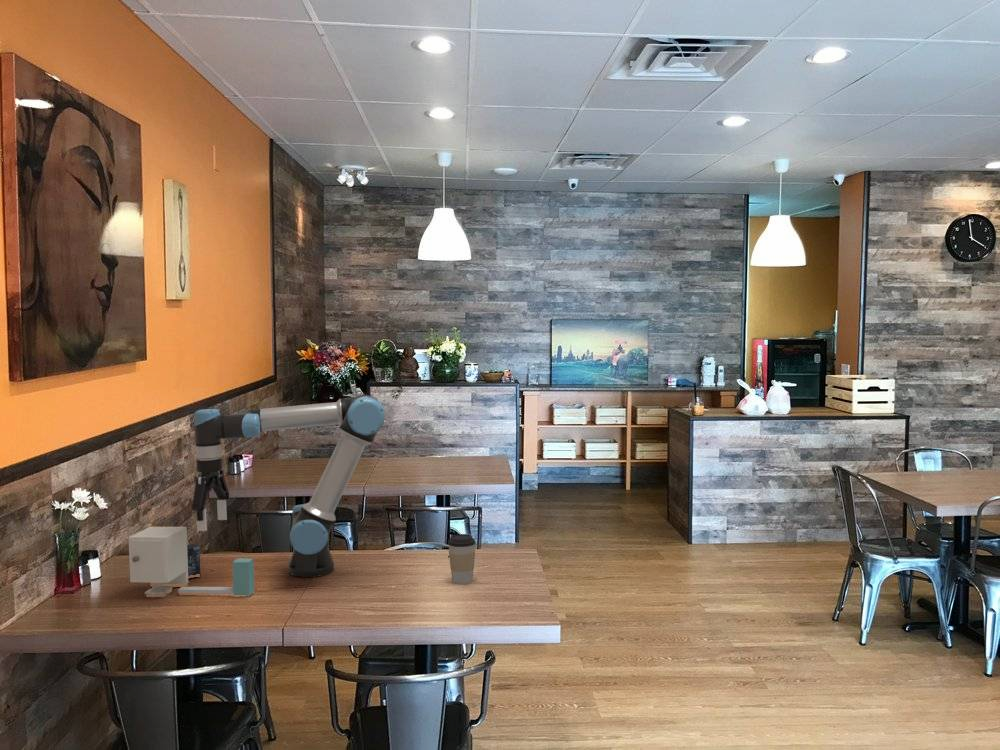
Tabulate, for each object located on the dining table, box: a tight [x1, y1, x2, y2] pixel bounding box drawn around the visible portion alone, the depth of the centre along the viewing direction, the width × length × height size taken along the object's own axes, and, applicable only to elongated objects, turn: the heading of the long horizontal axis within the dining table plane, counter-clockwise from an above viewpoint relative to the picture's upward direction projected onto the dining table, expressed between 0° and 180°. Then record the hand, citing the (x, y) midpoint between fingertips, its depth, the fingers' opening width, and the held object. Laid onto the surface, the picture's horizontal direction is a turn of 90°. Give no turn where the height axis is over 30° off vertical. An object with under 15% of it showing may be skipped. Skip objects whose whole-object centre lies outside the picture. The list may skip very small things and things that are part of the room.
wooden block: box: [144, 586, 174, 595], centre depth 245 cm, size 6×6×2 cm
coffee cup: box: [447, 533, 477, 585], centre depth 254 cm, size 9×9×15 cm
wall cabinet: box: [128, 526, 189, 585], centre depth 245 cm, size 12×14×20 cm
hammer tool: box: [177, 557, 255, 596], centre depth 244 cm, size 23×4×11 cm, turn 86°
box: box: [187, 543, 201, 576], centre depth 261 cm, size 8×6×11 cm
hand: (212, 525), depth 247 cm, fingers open, 13 cm apart
